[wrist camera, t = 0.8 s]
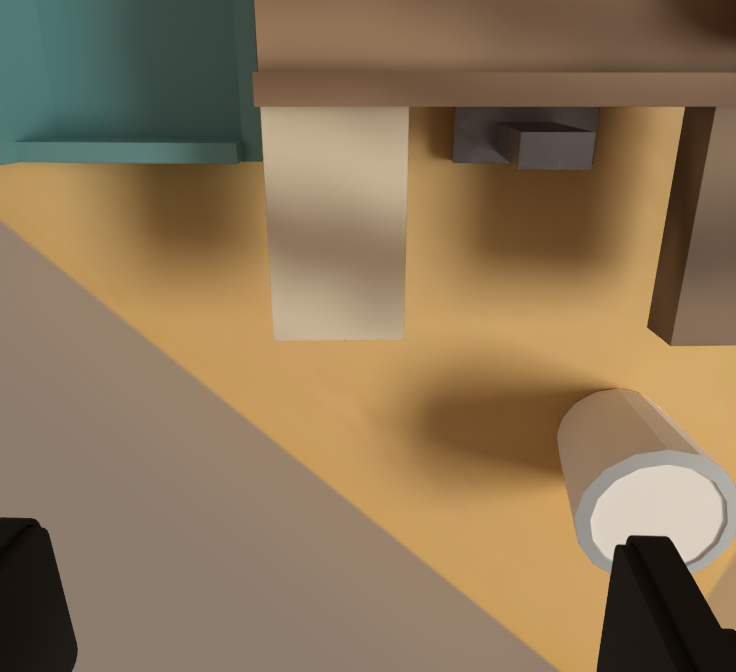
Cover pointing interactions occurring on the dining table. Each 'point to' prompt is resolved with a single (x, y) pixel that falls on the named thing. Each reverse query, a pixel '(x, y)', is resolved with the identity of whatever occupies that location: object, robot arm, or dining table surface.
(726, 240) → the walnut lever
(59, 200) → the dining table surface
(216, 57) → the teal tray
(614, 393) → the white cup
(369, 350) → the dining table surface
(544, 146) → the lever stand
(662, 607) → the robot arm
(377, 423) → the dining table surface
